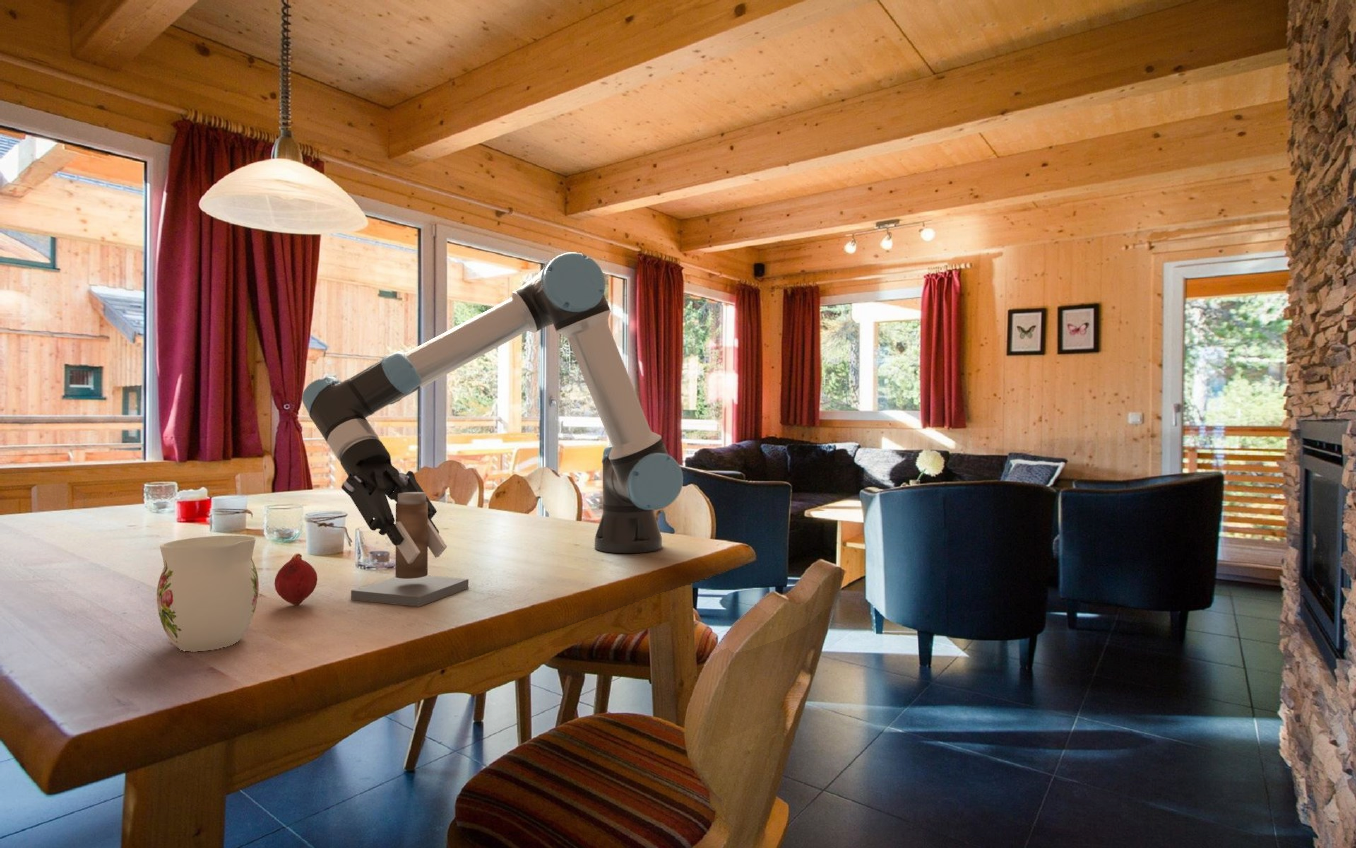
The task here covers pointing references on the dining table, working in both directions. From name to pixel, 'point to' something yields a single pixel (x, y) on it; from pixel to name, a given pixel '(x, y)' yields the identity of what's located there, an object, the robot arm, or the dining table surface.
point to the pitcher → (207, 591)
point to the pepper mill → (413, 533)
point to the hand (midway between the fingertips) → (427, 554)
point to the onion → (295, 580)
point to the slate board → (410, 590)
